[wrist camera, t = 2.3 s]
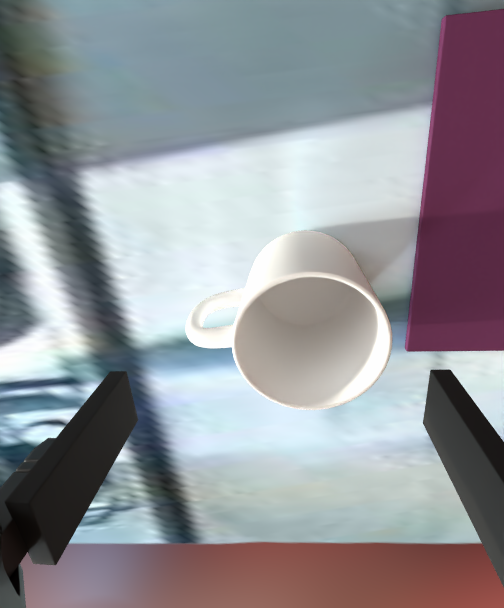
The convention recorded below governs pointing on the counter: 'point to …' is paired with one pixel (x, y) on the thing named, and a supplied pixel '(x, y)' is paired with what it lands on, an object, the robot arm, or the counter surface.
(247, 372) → the cup
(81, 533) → the counter surface
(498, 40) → the mat
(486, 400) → the counter surface
